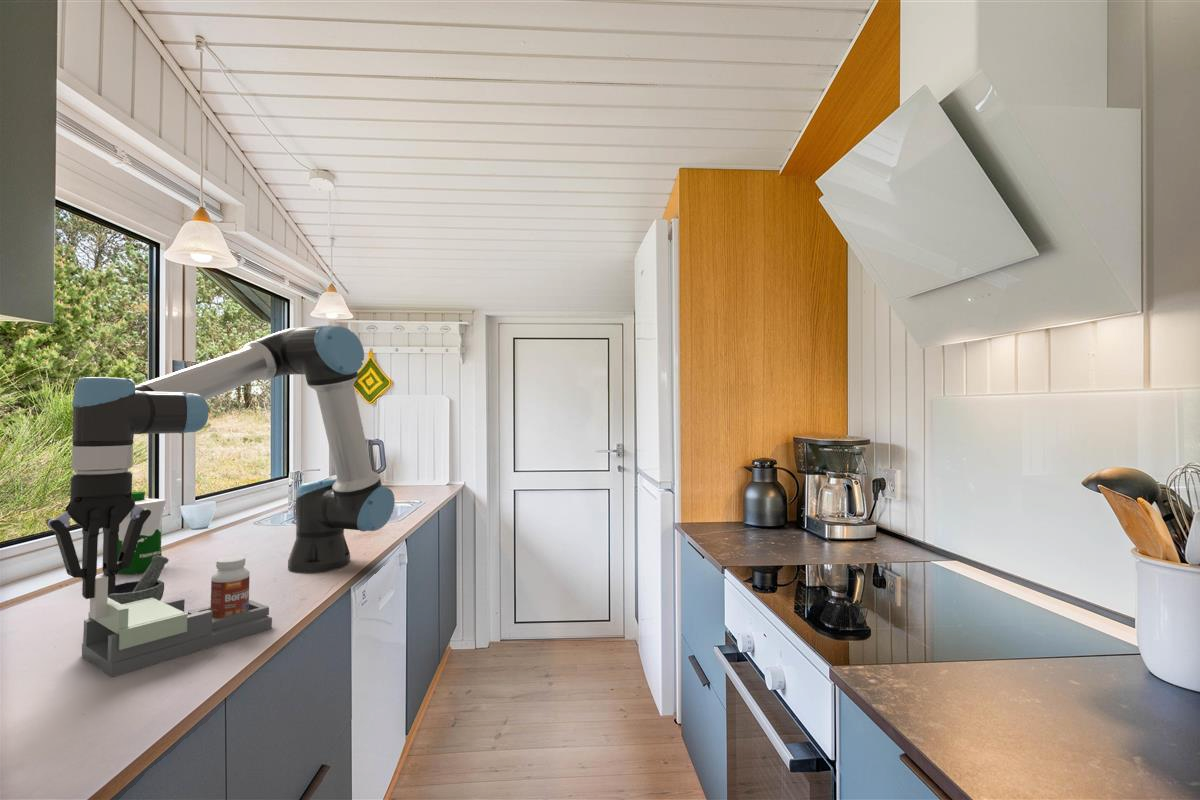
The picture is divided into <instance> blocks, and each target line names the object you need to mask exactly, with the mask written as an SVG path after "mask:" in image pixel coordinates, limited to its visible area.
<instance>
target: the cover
mask: <svg viewBox="0 0 1200 800" xmlns="http://www.w3.org/2000/svg"><path fill="white" fill-rule="evenodd" d="M163 602H164V601H161V600H160V601H159V600H157V599H154V598H149V599H144V600H140V601H135V602H131V603H126V604H120V603H118V602H116V601H114V600H112V599H110V598H108V599H107V617H103V618H99V619H94V618H92V617H90V611H88V619H91V618H92V619H93V620H95V621H97V622H98V623H100V624H102V625H103V626H105V627H107V628H108V629H110V630H112V631H113V632H115V633H117V634H118V635H119V650H122V649H125V648H129V647H133V646H136V645H140V644H144V643H147V642H151V641H154V640H158V639H162V638H165V637H169V636H172V635H176V634H180V633H183V632H187V615H188V612H185V611H184V612H183V611H181V610H178V609H176V608H174V607H172V606H170V605H168V604H165V603H163Z"/></svg>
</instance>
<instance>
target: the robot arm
mask: <svg viewBox="0 0 1200 800" xmlns="http://www.w3.org/2000/svg"><path fill="white" fill-rule="evenodd" d="M364 360H365V350H364V347H363V344H362V342H361V340H360V338H359V337H358V336H357V335H356V333H354V332H353V331H351V329H350V328H348V327H345V326H341V325H340V326H339V325H335V326H334V325H330V324H327V325H320V326H319V325H318V326H317V325H316V326H308V327H306V326H304V327H291V328H287V329H283V330H281V331H280V330H279V331H277V332H275V333H271V334H270V335H269V334H268V335H267V336H263V337H260V338H258V339H255V340H252V341H250V342H247V343H246V344H244V346H243V348H242V349H240V350H236V351H234V352H231V353H227V354H225V355H222V356H219V357H217V358H213V359H210V360H206V361H204V362H201V363H198V364H196V365H192V366H189V367H187V368H183V369H180V370H178V371H175V372H171V373H169V374H165V375H163V376H159V377H156V378H154V379H153V378H152V379H150V380H147V381H144V382H142V383H139V384H137V385H136V383H135V381H134V380H133V379H131V378H122V377H101V376H100V377H99V376H97V377H96V376H95V377H94V376H90V377H89V376H87V377H81V378H79V379H77V381H76V382H75V384H74V385H75V386H74V390H73V397H72V403H71V406H72V446H71V447H72V451H71V467H70V469H71V470H72V471H73V472H75V473H73V474H72V475H71V476H70V494H69V495H70V497H69V498H70V501H69V502H68V504H67V506H66V507H65V511H64V512H63V513H61V514H60V515H58V516H55V517H54V518H53V517H52V518H48V519H47V520H45V521H46V522H45V524H46V525H47V527H48V528H49V529H50V530H51V531H52V532H53V533H54V536H55V538H56V541H57V546H58V548H59V552H60V555H61V557H62V560H63V564H64V565H63V566H64V567H65V571H66V574H67V575H69V576H70V577H73V578H79V579H82V585H81V587H82V588H81V592H82V593H81V595H82V598H84V599H85V600H88V599H89V612H90V617H92V618H94V619H99V618H103V617H107V599H108V595H109V594H113V593H114V592H115V585H116V583H117V582H116V578H117V577H116V576H117V575H118V574H119V573H118V572H119V571H120V570H122V569H126V568H129V567H130V565H131V562H132V559H133V555H134V552H135V549H136V546H137V543H138V540H139V536H140V533H141V530H142V527H143V524H144V522H145V521H146V520H147V518H148V517H149V516H150V514H151V511H150V510H148V509H144V508H141V507H138V506H136V505H135V501H134V500H133V498H132V492H133V473H132V472H131V471H129V469H131V468H133V465H134V436H135V435H141V434H144V435H145V434H147V435H148V434H181V435H183V434H187V433H196V432H199V431H200V430H203V428H204V427H205V425H206V424H207V422H208V420H209V416H210V415H209V412H210V411H209V410H210V409H209V405H208V403H207V400H209V399H212V398H214V397H217V396H219V395H221V394H225V393H227V392H229V391H232V390H234V389H237V388H239V387H241V386H244V385H246V384H249V383H252V382H254V381H256V380H261V381H268V380H272V379H274V378H275V377H281V376H289V375H304V377H305V380H306V385H307V386H308V387H309V388H311V389H313V390H315V393H316V396H317V400H318V405H319V409H320V413H321V416H322V422H323V424H324V425H323V426H324V430H325V433H326V435H325V436H326V438H327V443H328V446H329V451H330V455H331V460H332V463H333V469H334V472H335V475H336V476H335V477H336V478H333V479H323V480H316V481H308V482H303V483H300V484H299V486H298V487H297V493H296V494H297V495H296V499H295V500H296V503H295V505H296V507H295V508H296V511H295V512H296V516H295V517H296V518H295V519H296V523H295V524H296V526H295V529H296V531H295V532H296V533H295V541H294V544H293V546H292V548H291V551H290V553H289V558H288V560H287V569H288V570H289V571H290V572H294V573H320V572H327V571H332V570H338V569H341V568H344V567H346V566H348V565H349V564H350V563H351V552H350V550H349V546H348V543H347V542H346V541H347V539H346V538H345V530H353V531H360V532H375V531H378V530H381V529H382V528H384V527H385V526H386V524H387V523H388V522H389V521H390V519H391V518H392V514H393V513H394V509H395V503H396V502H395V501H396V500H395V499H396V498H395V495H394V492H393V490H392V489H391V488H389V487H387V486H385V485H384V486H383V485H382V481H381V476H380V474H379V473H377V472H376V471H374V470H373V469H372V464H371V463H372V462H371V458H370V455H369V450H368V446H367V440H366V435H365V431H364V427H363V423H362V418H361V413H360V408H359V404H358V400H357V394H356V391H355V386H354V384H355V382H356V381H357V380H358V378H359V373H358V371H360V369H362V367H363V364H364V363H363V361H364ZM130 511H131V514H130V518H131V520H130V522H129V525H128V528H127V531H126V534H125V538H124V541H123V544H122V547H121V550H120V553H119V556H118V560H117V551H118V532H119V524H120V523H121V522H122V521H123V520H124V519H125V517H126V516H127V515H128V514H129V513H130ZM70 519H72V520H73V522H74V523H75V524H77V525H78V526H79V527H80V528H81V529H82V530H81V532H82V533H81V534H82V552H81V553H82V555H81V556H82V560H81V561H82V562H81V564H80V561H79V558H78V555H77V552H76V548H75V545H74V542H73V538H72V535H71V532H70V530H69V529H68V528H69V527H70V526H71V523H70ZM100 529H102V533H103V536H102V537H103V538H102V539H103V541H102V542H103V543H102V572H103V573H100V574H97V572H98V569H97V568H98V544H99V542H98V541H99V539H98V538H99V536H100V535H99V534H100Z"/></svg>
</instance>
